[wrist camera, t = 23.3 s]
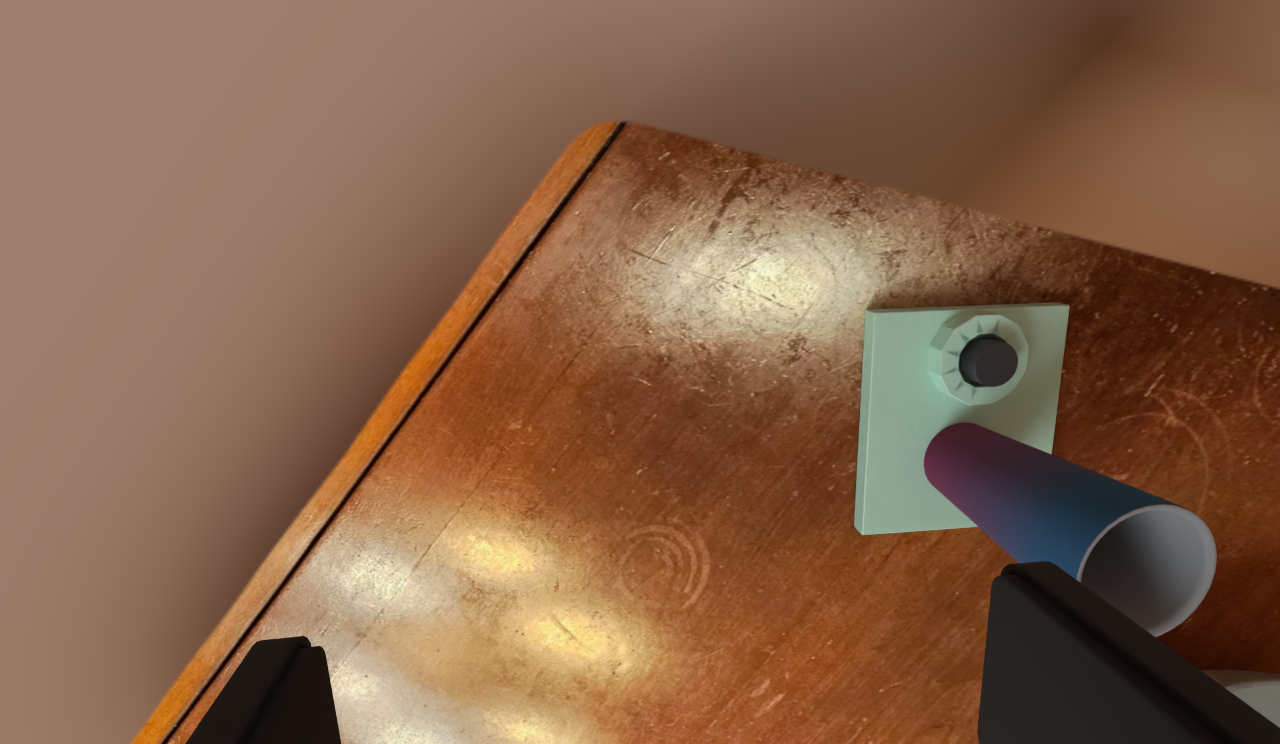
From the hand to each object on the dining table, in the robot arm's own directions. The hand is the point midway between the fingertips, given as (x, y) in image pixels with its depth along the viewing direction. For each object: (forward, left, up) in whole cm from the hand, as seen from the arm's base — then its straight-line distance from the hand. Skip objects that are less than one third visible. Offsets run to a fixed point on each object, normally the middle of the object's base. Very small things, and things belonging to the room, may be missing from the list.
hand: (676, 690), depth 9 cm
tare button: (+3, +24, -31) cm, 39 cm away
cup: (+10, +24, -32) cm, 41 cm away
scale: (+7, +24, -34) cm, 42 cm away
